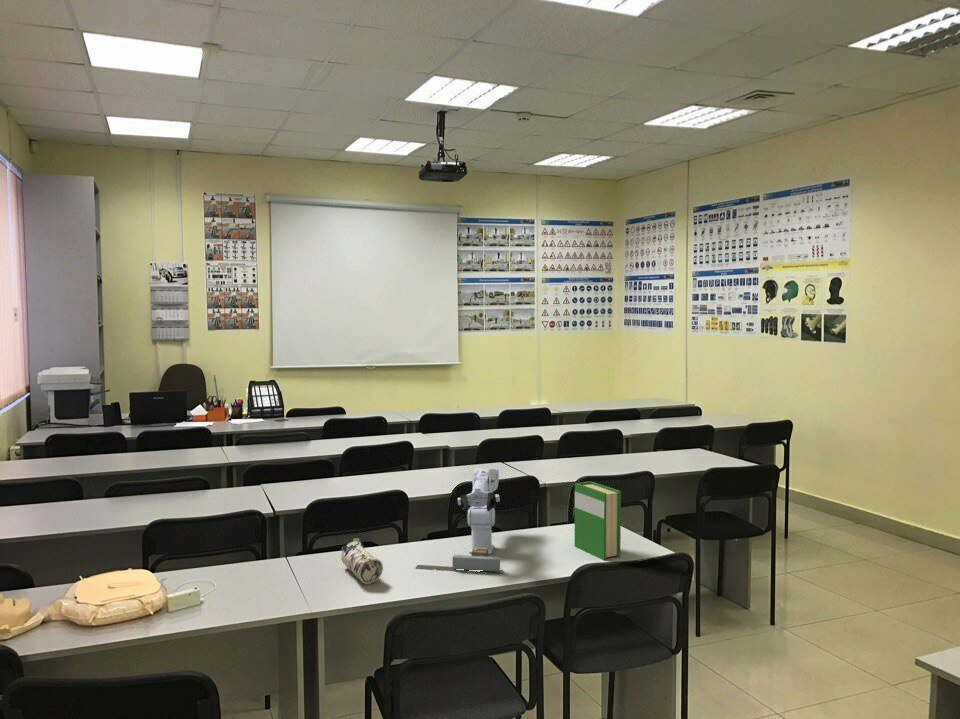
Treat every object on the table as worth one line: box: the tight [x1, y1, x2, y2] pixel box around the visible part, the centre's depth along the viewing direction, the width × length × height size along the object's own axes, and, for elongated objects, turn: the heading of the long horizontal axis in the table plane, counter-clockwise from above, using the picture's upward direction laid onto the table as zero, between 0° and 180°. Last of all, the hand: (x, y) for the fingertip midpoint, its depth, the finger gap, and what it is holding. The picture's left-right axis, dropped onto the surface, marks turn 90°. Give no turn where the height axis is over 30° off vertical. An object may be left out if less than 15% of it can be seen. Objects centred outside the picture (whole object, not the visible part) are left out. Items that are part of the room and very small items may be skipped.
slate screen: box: [452, 554, 501, 571], centre depth 245 cm, size 2×16×4 cm, turn 80°
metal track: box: [415, 564, 504, 575], centre depth 246 cm, size 3×30×1 cm, turn 80°
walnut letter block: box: [471, 547, 489, 557], centre depth 252 cm, size 5×5×5 cm
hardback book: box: [574, 480, 622, 561], centre depth 264 cm, size 18×7×24 cm, turn 28°
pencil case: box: [340, 538, 384, 585], centre depth 241 cm, size 22×8×10 cm, turn 27°
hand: (476, 509), depth 244 cm, fingers open, 7 cm apart
